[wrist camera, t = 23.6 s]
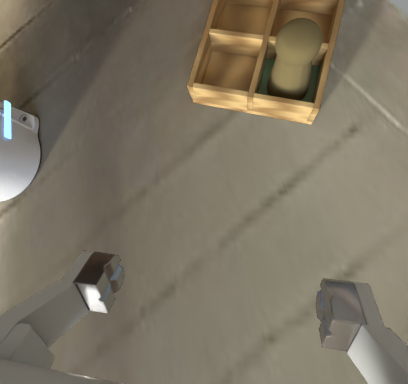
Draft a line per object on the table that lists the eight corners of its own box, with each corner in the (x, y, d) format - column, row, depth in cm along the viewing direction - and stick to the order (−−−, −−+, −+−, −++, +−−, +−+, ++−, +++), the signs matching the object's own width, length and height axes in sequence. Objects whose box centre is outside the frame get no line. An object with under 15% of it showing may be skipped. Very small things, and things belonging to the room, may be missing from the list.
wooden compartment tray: (193, 102, 44) (187, 86, 39) (223, 2, 46) (220, -24, 42) (311, 124, 40) (319, 109, 36) (337, 15, 43) (348, -13, 38)
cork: (264, 71, 42) (270, 13, 31) (306, 65, 41) (325, 3, 30) (268, 107, 41) (275, 60, 30) (311, 102, 40) (333, 51, 29)
